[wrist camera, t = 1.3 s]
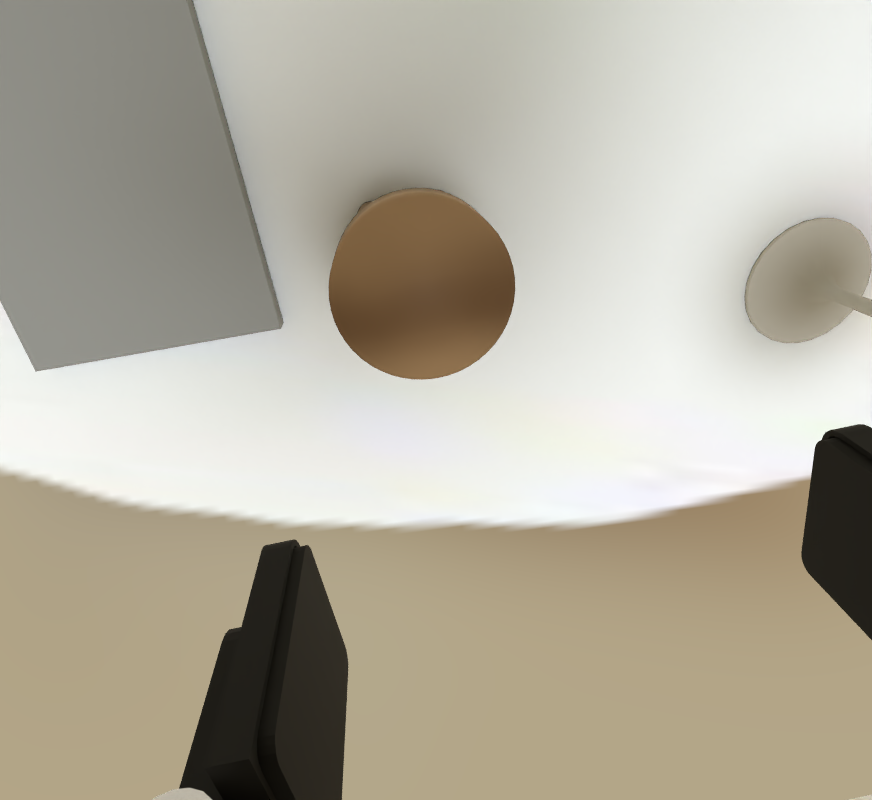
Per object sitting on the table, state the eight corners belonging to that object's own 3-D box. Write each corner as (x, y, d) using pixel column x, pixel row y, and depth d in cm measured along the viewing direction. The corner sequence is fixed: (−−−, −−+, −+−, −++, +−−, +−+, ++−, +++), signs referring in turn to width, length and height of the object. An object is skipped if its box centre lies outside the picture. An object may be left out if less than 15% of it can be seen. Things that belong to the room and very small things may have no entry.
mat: (-185, -105, 23) (-208, -114, 22) (147, -160, 23) (137, -171, 22) (45, 364, 32) (35, 371, 31) (283, 322, 32) (280, 328, 31)
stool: (328, 184, 29) (308, 214, 20) (467, 160, 29) (505, 180, 21) (358, 318, 32) (351, 393, 24) (483, 296, 32) (522, 363, 24)
